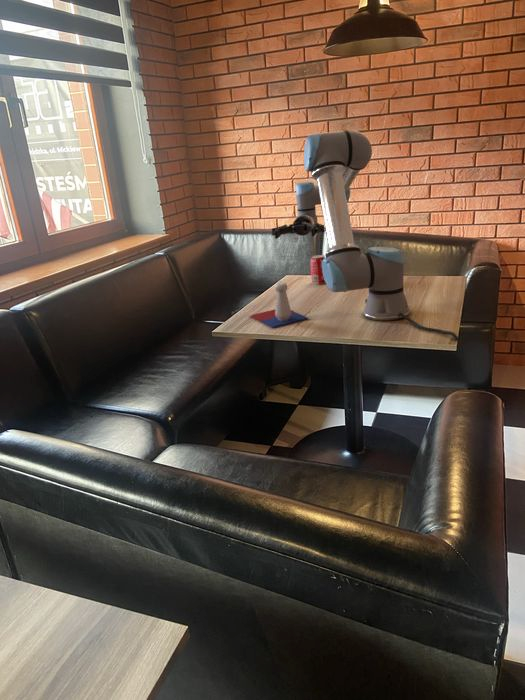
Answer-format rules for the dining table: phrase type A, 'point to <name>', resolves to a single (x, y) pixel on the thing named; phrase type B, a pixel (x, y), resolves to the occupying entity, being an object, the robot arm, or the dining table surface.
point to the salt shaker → (282, 303)
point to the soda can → (317, 269)
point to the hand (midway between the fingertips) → (294, 233)
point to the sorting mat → (272, 321)
